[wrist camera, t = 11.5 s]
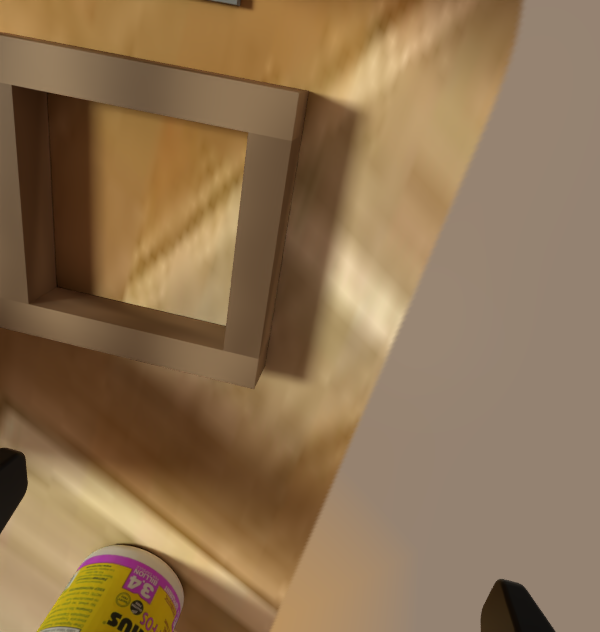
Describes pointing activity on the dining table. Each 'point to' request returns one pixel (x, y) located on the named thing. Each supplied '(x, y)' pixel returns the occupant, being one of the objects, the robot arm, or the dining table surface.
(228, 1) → the grey flat square slab
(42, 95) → the walnut collar stand
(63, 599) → the supplement bottle
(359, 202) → the dining table surface
